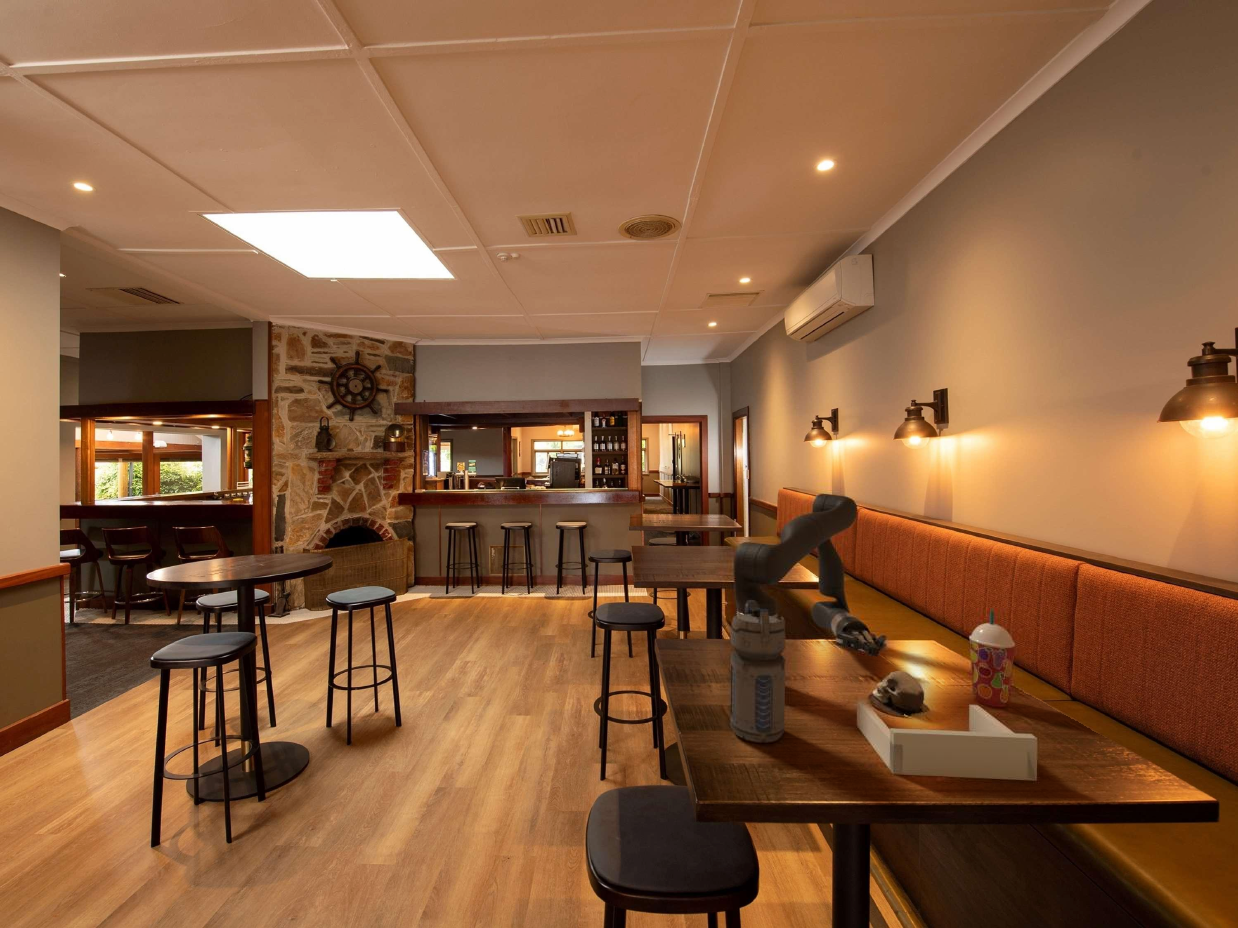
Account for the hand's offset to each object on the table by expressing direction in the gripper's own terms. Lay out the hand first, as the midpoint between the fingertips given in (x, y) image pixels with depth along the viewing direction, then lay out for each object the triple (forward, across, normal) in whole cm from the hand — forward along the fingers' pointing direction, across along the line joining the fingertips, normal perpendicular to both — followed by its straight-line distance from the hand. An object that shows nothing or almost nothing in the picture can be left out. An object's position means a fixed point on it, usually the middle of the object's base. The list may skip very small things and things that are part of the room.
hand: (874, 652), depth 134 cm
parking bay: (+30, 0, +7) cm, 31 cm away
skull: (+12, +1, +8) cm, 14 cm away
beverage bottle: (+26, -32, +7) cm, 42 cm away
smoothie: (+8, +22, +8) cm, 25 cm away
